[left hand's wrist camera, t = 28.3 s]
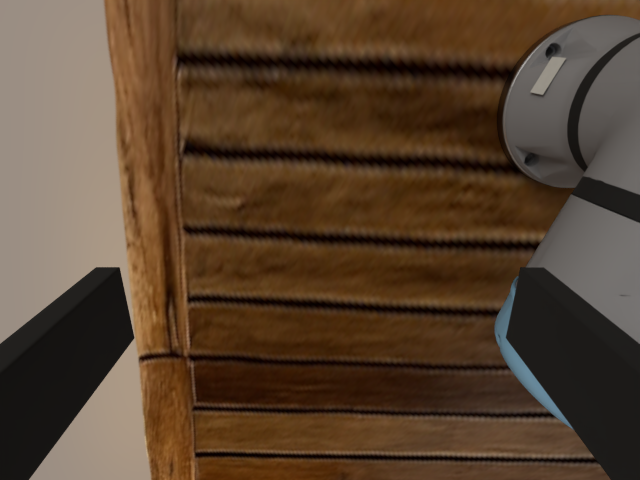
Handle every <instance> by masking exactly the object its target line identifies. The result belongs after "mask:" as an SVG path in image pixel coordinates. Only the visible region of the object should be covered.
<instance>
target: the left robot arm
mask: <svg viewBox="0 0 640 480" xmlns="http://www.w3.org/2000/svg"><path fill="white" fill-rule="evenodd" d="M497 127H498V135H499V139H500V143H501V146H502V148H503V151H504V153H505V154H506V156H507V158H508V159H509V161H510V162H511V163H512V164H513V165H514V166H515V168H517V169H518V170H519V171H520V172H521V173H523V174H524V175H526V176H528V177H530V178H532V179H534V180H536V181H539V182H541V183H544V184H546V185H550V186H554V187H562V188H575V189H574V191H573V193H572V194H573V195H572V194H571V195H570V197H569V198H568V200H567V201H566V203H565V205H564V206H563V208H562V209H561V211H560V213H559V214H558V216H557V217H556V219H555V221H554V222H553V224H552V225H551V227H550V229H549V230H548V232H547V233H546V235H545V237H544V238H543V240H542V241H541V243H540V245H539V246H538V248H537V249H536V251H535V253H534V254H533V256H532V257H531V259H530V261H529V262H528V264H527V265H526V267H520V272H519V276H518V277H516V278H515V280H514V281H513V283H512V285H511V291H510V293H509V295H508V297H507V299H506V301H505V303H504V304H503V306H502V308H501V310H500V312H499V314H498V316H497V318H496V322H495V336H496V340H497V343H498V345H499V347H500V351H501V354H502V356H503V358H504V360H505V361H506V363H507V364H508V366H509V367H510V369H511V370H512V372H513V373H514V375H515V376H516V377H517V378H518V380H519V381H520V382H521V383H522V384H523V386H524V387H525V388H526V389H527V390H528V391H529V392H530V393H531V394H532V395H533V396H534V397H535V398H536V399H537V400H538V401H539V402H540V403H541V404H542V405H543V406H544V407H545V408H546V409H547V410H549V411H550V412H551V413H552V414H553V415H554V416H556V417H557V418H558V419H559V420H561V421H562V422H563V423H564V424H566V425H567V426H569V427H570V428H572V429H573V430H575V432H576V433H577V434H578V436H579V437H580V438H581V440H582V441H583V443H584V444H585V445H586V447H587V448H588V449H589V451H590V452H591V453H592V455H593V456H594V457H595V459H596V460H597V461H598V463H599V464H600V465H601V467H602V468H603V469H604V471H605V472H606V473H607V475H608V476H609V477H610V479H611V480H640V20H637V19H634V18H630V17H624V16H618V15H600V16H594V17H589V18H585V19H582V20H578V21H574V22H571V23H568V24H565V25H563V26H561V27H559V28H557V29H555V30H553V31H551V32H550V33H548V34H546V35H545V36H544V37H542V38H541V39H539V40H538V41H537V42H536V43H535V44H534V45H532V46H531V47H530V48H529V49H528V50H527V51H526V53H525V54H524V55H523V56H522V57H521V58H520V60H519V61H518V62H517V64H516V65H515V67H514V68H513V70H512V72H511V73H510V75H509V77H508V79H507V81H506V83H505V86H504V88H503V91H502V94H501V97H500V101H499V106H498V114H497ZM133 339H134V334H133V329H132V324H131V320H130V315H129V310H128V305H127V301H126V296H125V292H124V287H123V282H122V277H121V272H120V268H119V267H96V268H95V269H94V270H92V271H91V272H90V273H89V274H87V275H86V276H85V277H83V278H82V279H81V280H80V281H78V282H77V283H76V284H75V285H73V286H72V287H71V288H70V289H68V290H67V291H66V292H65V293H63V294H62V295H61V296H60V297H59V298H57V299H56V300H55V301H53V302H52V303H51V304H50V305H48V306H47V307H46V308H45V309H43V310H42V311H41V312H40V313H38V314H37V315H36V316H35V317H33V318H32V319H31V320H30V321H28V322H27V323H26V324H25V325H23V326H22V327H21V328H20V329H18V330H17V331H16V332H15V333H13V334H12V335H11V336H10V337H8V338H7V339H6V340H5V341H3V342H2V343H1V344H0V480H29V479H30V477H31V476H32V475H33V473H34V472H35V471H36V469H37V468H38V467H39V465H40V464H41V463H42V461H43V460H44V459H45V457H46V456H47V455H48V453H49V452H50V451H51V449H52V448H53V447H54V445H55V444H56V443H57V441H58V440H59V438H60V437H61V436H62V434H63V433H64V432H65V430H66V429H67V428H68V426H69V425H70V424H71V422H72V421H73V420H74V418H75V417H76V416H77V414H78V413H79V412H80V410H81V409H82V408H83V406H84V405H85V404H86V402H87V401H88V400H89V398H90V397H91V396H92V394H93V393H94V391H95V390H96V389H97V387H98V386H99V385H100V383H101V382H102V381H103V379H104V378H105V377H106V375H107V374H108V373H109V371H110V370H111V369H112V367H113V366H114V365H115V363H116V362H117V361H118V359H119V358H120V357H121V355H122V354H123V353H124V351H125V350H126V349H127V347H128V346H129V345H130V343H131V342H132V340H133Z"/></svg>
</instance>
